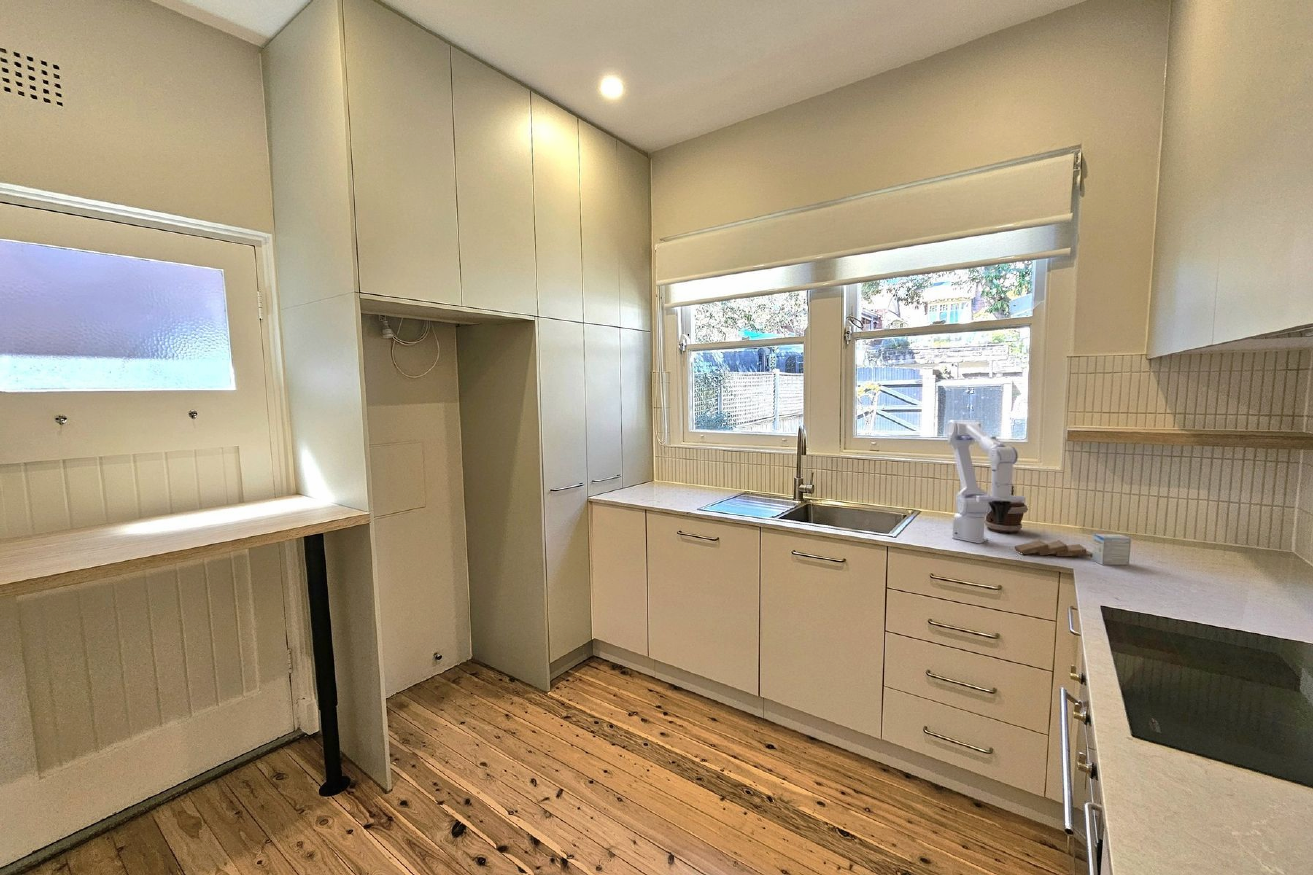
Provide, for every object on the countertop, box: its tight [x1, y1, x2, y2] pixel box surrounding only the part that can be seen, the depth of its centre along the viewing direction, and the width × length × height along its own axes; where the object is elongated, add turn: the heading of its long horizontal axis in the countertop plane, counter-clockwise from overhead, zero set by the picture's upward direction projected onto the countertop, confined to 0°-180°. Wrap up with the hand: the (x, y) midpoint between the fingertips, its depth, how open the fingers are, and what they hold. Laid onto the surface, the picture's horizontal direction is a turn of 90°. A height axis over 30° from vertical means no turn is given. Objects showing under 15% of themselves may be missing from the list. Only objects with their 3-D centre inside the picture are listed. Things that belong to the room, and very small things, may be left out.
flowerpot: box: [984, 482, 1029, 534], centre depth 203 cm, size 14×15×20 cm
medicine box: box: [1092, 533, 1132, 566], centre depth 166 cm, size 8×4×9 cm, turn 84°
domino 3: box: [1053, 543, 1087, 557], centre depth 173 cm, size 2×5×8 cm
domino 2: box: [1036, 540, 1068, 556], centre depth 175 cm, size 2×5×8 cm
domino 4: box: [1070, 550, 1093, 558], centre depth 175 cm, size 2×5×8 cm
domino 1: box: [1014, 539, 1049, 555], centre depth 176 cm, size 2×5×8 cm
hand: (999, 523), depth 176 cm, fingers closed
